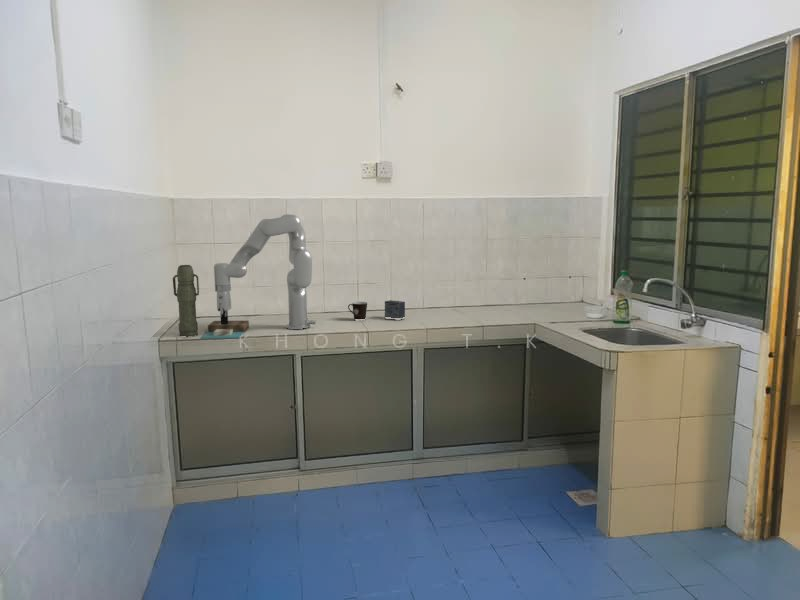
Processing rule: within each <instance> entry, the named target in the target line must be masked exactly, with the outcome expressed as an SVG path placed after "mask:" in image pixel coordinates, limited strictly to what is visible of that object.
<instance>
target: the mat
mask: <svg viewBox="0 0 800 600" xmlns="http://www.w3.org/2000/svg"><path fill="white" fill-rule="evenodd" d="M244 333H245V332H233V333H232V334H231V335H230V336H214V333H213V332H208V331H207V333H205V334H204V335H202V336H201V338H200V339H203V340H205V339H206V340H207V339H240V338H241V337H242V336H243V335H242V334H244ZM241 335H242V336H241Z"/></svg>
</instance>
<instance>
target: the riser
mask: <svg viewBox="0 0 800 600" xmlns="http://www.w3.org/2000/svg"><path fill="white" fill-rule="evenodd" d="M249 325H250V321H249V320H228V324H227V325H221V320H212V322H210V323H209V324H207V332H214V331H215V330H216V329H233V332H244V333H246V331H248V329H250V326H249Z"/></svg>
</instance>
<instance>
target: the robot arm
mask: <svg viewBox="0 0 800 600" xmlns="http://www.w3.org/2000/svg"><path fill="white" fill-rule="evenodd" d="M284 234H287V235H288V245H289V247H288V260H289V263H290V264H291V265H293V269H290V270H289V271H288V273H287V276H286V284H287V294H288V324H286V326H285V327H286V329H287V328H288V330H293V329H300V330H304V329H303V328H307V329H309V328H311V325H316V320H313V319H312V320H310V319H309V318H308V307H307V305H308V303H307V302H308V301H307V299H308V298H307V288H308V287H310V284H311V283H312V277H313V276H312V275H313V274H312V273H313V272H312V271H313V258H312V255H311V252H310V251H309V250H307V248H306V247H307V245H306V244H307V243H306V240H307V239H306V232H305V230H304V228H303V226H302V224H301V220H300V217H298V216H297V215H296V214H295V215H294V214H287V213H286V214H283V215H281V216H279V217H276V218H263V219H262V220H260V221H259V222H258V223H257V225H256V226H255V228H254V230H253V231H252V233H250V235H249V237H248V239H247V240H246V241H245V242H244V243H243V244H242V246H241V247H240V248H239V250H238V251H237V252H236V253H235V255H234V256H233V258H232V259H231V260H230V262H229V263H227V262H219V263H215V264H214V266H213V274H214V275H213V278H214V292H216V309H217V311H218V312H219V314H220V315H219V316H220V321H221V325H227V324H228V321H229V315H228V314H229V311H230V310H231V309H232V298H231V290H232V287H231V285H232V284H231V283H232V282H231V278H235V279H236V278H237V279H240V278H243V277H245V276H246V275H247V273H248V269H247V267H246V266H247V264H248V263H249V262H250V261H251V259H253V258H254V257H255V256H256V255H258V254H259V253H261V251H263V248H265V245H266V244H267V242H268V241H269V240H270V239H271V238H272V237H275V236H280V235H284ZM308 327H309V328H308Z"/></svg>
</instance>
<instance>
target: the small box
mask: <svg viewBox="0 0 800 600" xmlns="http://www.w3.org/2000/svg"><path fill="white" fill-rule="evenodd" d="M405 305H406V302H405V301H401V300H384V318H385V317H391V318H403V317H405V318H406V309H405V308H406V306H405Z"/></svg>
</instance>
